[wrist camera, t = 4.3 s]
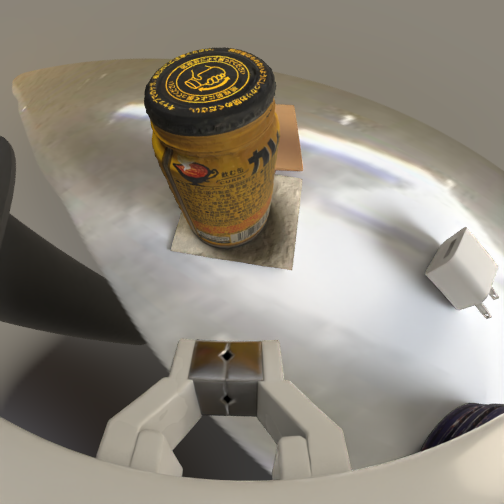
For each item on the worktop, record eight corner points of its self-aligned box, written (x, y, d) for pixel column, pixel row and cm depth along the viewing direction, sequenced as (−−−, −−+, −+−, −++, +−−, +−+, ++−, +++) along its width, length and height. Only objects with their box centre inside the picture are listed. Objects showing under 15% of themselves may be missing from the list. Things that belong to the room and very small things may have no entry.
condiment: (195, 165, 22) (161, 37, 10) (302, 180, 21) (338, 50, 10) (171, 251, 20) (88, 147, 8) (291, 271, 19) (345, 173, 8)
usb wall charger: (441, 243, 20) (468, 224, 16) (485, 295, 18) (514, 284, 15) (422, 276, 19) (451, 260, 15) (469, 330, 17) (501, 323, 14)
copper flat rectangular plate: (302, 171, 22) (303, 169, 22) (178, 171, 22) (178, 169, 22) (293, 107, 25) (293, 105, 24) (190, 108, 25) (190, 105, 24)
